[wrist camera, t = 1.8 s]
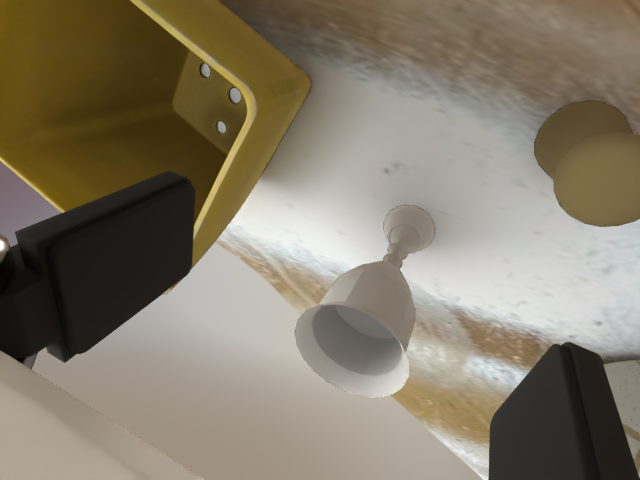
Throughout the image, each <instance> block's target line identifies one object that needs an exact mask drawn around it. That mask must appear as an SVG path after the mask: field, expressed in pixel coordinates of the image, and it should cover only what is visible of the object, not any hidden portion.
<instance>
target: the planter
mask: <svg viewBox="0 0 640 480" xmlns="http://www.w3.org/2000/svg"><path fill="white" fill-rule="evenodd" d="M603 365H604V368H605V372H606V375H607V378H608V381H609V384H610V387H611V390H612V393H613V397H614V400H615V403H616V406H617V409H618V412H619V415H620V419H621V422H622V425H623V428H624V431H625V434H626V437H627V441H628V444H629V447H630V450H631V453H632V456H633V459H634V463H635V466H636V469H637V472H638V475H639V478H640V359H633V360H625V361H618V362H612V363H607V364H603Z"/></svg>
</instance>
